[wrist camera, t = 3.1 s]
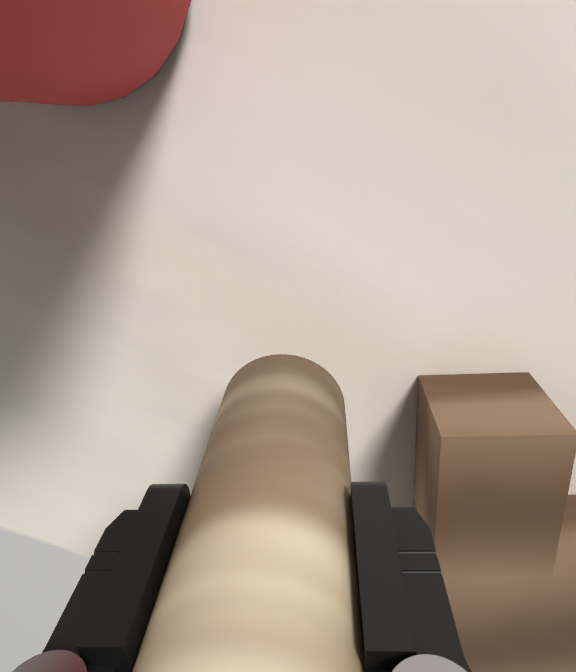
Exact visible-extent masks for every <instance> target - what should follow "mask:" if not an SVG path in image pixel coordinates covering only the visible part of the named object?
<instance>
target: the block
mask: <svg viewBox="0 0 576 672" xmlns="http://www.w3.org/2000/svg"><path fill="white" fill-rule="evenodd" d="M575 453H576V430H575V429H574V428H573V426H572V425H571V424H570V423H569V422H568V420H567V419H566V418H565V417H564V415H563V414H562V413H561V412H560V410H559V409H558V408H557V407H556V406H555V404H554V403H553V402H552V401H551V399H550V398H549V397H548V396H547V394H546V393H545V392H544V391H543V389H542V388H541V387H540V386H539V385H538V383H537V382H536V381H535V380H534V378H533V377H532V376H531V375H530V373H529V372H528V373H493V374H458V375H423V376H419V377H418V403H417V430H416V456H415V482H414V508H415V510H416V511H417V512H418V513H419V515H420V516H421V517H422V518H423V520H424V521H425V522H426V523H427V525H428V526H429V527H430V531H431V534H432V538H433V542H434V546H435V549H436V555H437V557H438V561H439V564H440V568H441V575H442V576H443V580H444V583H445V587H446V591H447V595H448V598H449V602H450V606H451V610H452V614H453V617H454V621H455V625H456V629H457V632H458V636H459V640H460V644H461V648H462V651H463V654H464V657H465V660H466V662H467V664H468V666H469V668H470V670H471V671H472V672H576V495H568V490H569V485H570V479H571V474H572V469H573V463H574V458H575Z"/></svg>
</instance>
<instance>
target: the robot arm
mask: <svg viewBox="0 0 576 672" xmlns="http://www.w3.org/2000/svg"><path fill="white" fill-rule="evenodd" d="M350 495H351V508H352V520H353V532H354V545H355V557H356V569H357V581H358V594H359V606H360V618H361V630H362V642H363V655H364V667H365V672H472V671H471V670H470V668H469V666H468V664H467V662H466V660H465V657H464V654H463V651H462V648H461V644H460V640H459V636H458V632H457V629H456V625H455V621H454V617H453V614H452V610H451V606H450V602H449V598H448V595H447V591H446V587H445V583H444V580H443V576H442V575H441V568H440V564H439V561H438V557H437V555H436V549H435V546H434V542H433V538H432V534H431V531H430V527H429V526H428V525H427V523H426V522H425V521H424V520H423V518H422V517H421V516H420V515H419V513H418V512H417V511H416V510H415V508H391V506H390V501H389V495H388V490H387V485H386V482H351V483H350ZM190 497H191V496H190V491H189V488H188V486H187V485H186V484H152V485H150V486H149V488H148V489H147V491H146V494H145V496H144V498H143V500H142V503H141V505H140V507H139V509H138V510H124V511H123V512H122V513H121V514H120V515H119V516H118V517H117V518H116V519H115V520H114V521H113V522H112V523H111V524H110V525H109V526H108V527H107V528H106V529H105V531H104V533H103V535H102V537H101V539H100V541H99V543H98V545H97V547H96V549H95V551H94V555H92V556H91V558H90V560H89V563H88V565H87V566H86V568H85V574H82V576H81V578H80V580H79V582H78V584H77V586H76V588H75V590H74V592H73V594H72V596H71V598H70V600H69V602H68V604H67V606H66V608H65V610H64V612H63V614H62V616H61V618H60V620H59V621H58V624H57V626H56V627H55V630H54V631H53V633H52V635H51V637H50V639H49V641H48V643H47V645H46V647H45V649H44V650H43V652H42V653H41V654H39V655H36V656H34V657H32V658H30V659H29V660H27V661H25V662H24V663H22V664H21V665H20V666H18V667H17V668H16V669H15V670H14V671H12V672H132V671H133V668H134V665H135V662H136V659H137V656H138V653H139V650H140V647H141V644H142V641H143V638H144V635H145V632H146V629H147V626H148V623H149V620H150V617H151V614H152V611H153V608H154V605H155V602H156V599H157V596H158V593H159V590H160V587H161V584H162V581H163V578H164V575H165V572H166V569H167V566H168V563H169V560H170V557H171V554H172V551H173V548H174V545H175V542H176V539H177V536H178V533H179V530H180V527H181V524H182V521H183V518H184V515H185V512H186V509H187V506H188V503H189V500H190Z"/></svg>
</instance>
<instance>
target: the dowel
mask: <svg viewBox="0 0 576 672" xmlns="http://www.w3.org/2000/svg"><path fill="white" fill-rule="evenodd" d="M350 483H351V473H350V462H349V450H348V439H347V427H346V416H345V405H344V398H343V394H342V392H341V389H340V387H339V385H338V384H337V382H336V381H335V379H334V378H333V377H332V376H331V374H329V373H328V372H327V371H326V370H325V369H324V368H322V367H321V366H320V365H318V364H316V363H314V362H313V361H310V360H308V359H305V358H302V357H298V356H293V355H281V354H279V355H270V356H265V357H262V358H259V359H256V360H254V361H252V362H250V363H248V364H247V365H245V366H244V367H242V368H241V369H240V370H239V371H238V372H237V373H236V374H235V375H234V376H233V377H232V379H231V381H230V382H229V384H228V386H227V388H226V391H225V394H224V397H223V400H222V403H221V406H220V409H219V412H218V415H217V418H216V421H215V424H214V427H213V430H212V433H211V436H210V439H209V442H208V445H207V448H206V451H205V454H204V457H203V460H202V463H201V466H200V469H199V472H198V475H197V478H196V481H195V484H194V487H193V491H192V494H191V497H190V500H189V503H188V506H187V509H186V512H185V515H184V518H183V521H182V524H181V527H180V530H179V533H178V536H177V539H176V542H175V545H174V548H173V551H172V554H171V557H170V560H169V563H168V566H167V569H166V572H165V575H164V578H163V581H162V584H161V587H160V590H159V593H158V596H157V599H156V602H155V605H154V608H153V611H152V614H151V617H150V620H149V623H148V626H147V629H146V632H145V635H144V638H143V641H142V644H141V647H140V650H139V653H138V656H137V659H136V662H135V665H134V668H133V671H132V672H365V667H364V655H363V642H362V630H361V618H360V606H359V594H358V581H357V569H356V557H355V545H354V532H353V520H352V508H351V495H350Z"/></svg>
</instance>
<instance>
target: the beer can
mask: <svg viewBox="0 0 576 672" xmlns="http://www.w3.org/2000/svg"><path fill="white" fill-rule="evenodd" d="M190 2H191V0H0V101H10V102H27V103H44V104H61V105H77V106H92V105H96V104H99V103H103V102H107V101H111V100H115V99H118V98H122V97H125V96H127V95H128V94H130V93H131V92H132V91H134V90H135V89H136V88H138V87H139V86H140V85H142V84H143V83H145V82H146V81H147V80H149V79H150V78H151V77H153V76H154V75H156V73H157V72H158V71H159V69H160V68H161V66H162V65H163V63H164V62H165V60H166V59H167V57H168V56H169V54H170V53H171V51H172V50H173V48H174V47H175V45H176V44H177V42H178V41H179V39H180V36H181V33H182V29H183V26H184V22H185V19H186V16H187V12H188V9H189V5H190Z"/></svg>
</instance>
